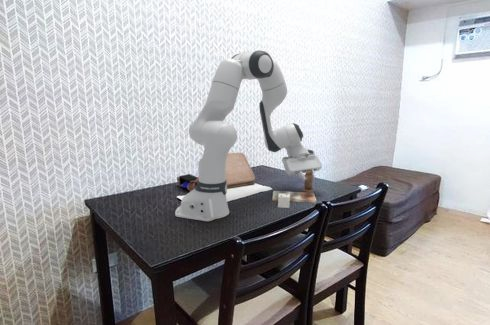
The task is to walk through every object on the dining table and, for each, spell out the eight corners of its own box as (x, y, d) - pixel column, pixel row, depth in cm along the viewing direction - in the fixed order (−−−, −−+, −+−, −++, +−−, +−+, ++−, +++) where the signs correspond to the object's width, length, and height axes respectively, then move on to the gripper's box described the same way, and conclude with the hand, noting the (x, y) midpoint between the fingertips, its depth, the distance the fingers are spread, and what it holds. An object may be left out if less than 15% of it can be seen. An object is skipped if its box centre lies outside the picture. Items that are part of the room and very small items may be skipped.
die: (277, 207, 133) (278, 196, 131) (278, 203, 137) (278, 193, 136) (289, 208, 132) (289, 197, 131) (289, 204, 137) (289, 193, 136)
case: (223, 190, 156) (223, 160, 152) (208, 179, 174) (208, 153, 170) (256, 184, 166) (257, 156, 162) (239, 175, 184) (239, 150, 180)
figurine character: (176, 189, 161) (189, 193, 148) (175, 175, 160) (187, 178, 147) (187, 186, 165) (201, 191, 152) (186, 173, 164) (199, 176, 151)
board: (272, 200, 141) (272, 197, 141) (273, 193, 152) (273, 190, 151) (316, 202, 139) (316, 199, 138) (313, 195, 149) (313, 192, 149)
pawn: (302, 192, 142) (304, 171, 139) (302, 189, 147) (303, 169, 144) (313, 192, 141) (315, 172, 139) (312, 189, 146) (314, 169, 144)
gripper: (283, 153, 141) (295, 178, 135) (316, 150, 150) (329, 173, 144) (277, 161, 146) (288, 185, 139) (310, 157, 155) (322, 180, 149)
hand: (309, 179), depth 142 cm, fingers closed on pawn, 4 cm apart
